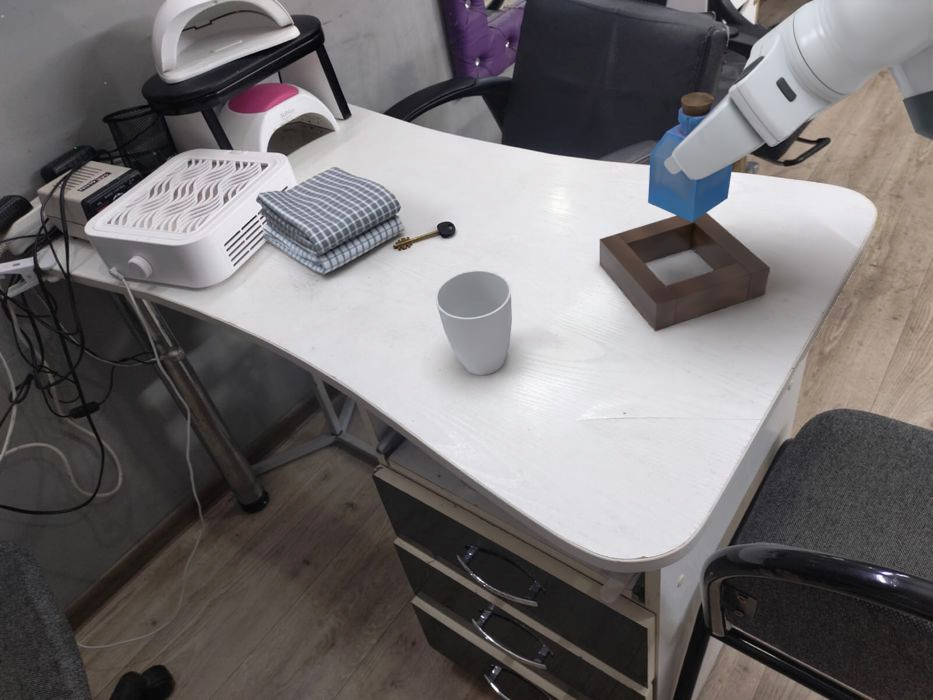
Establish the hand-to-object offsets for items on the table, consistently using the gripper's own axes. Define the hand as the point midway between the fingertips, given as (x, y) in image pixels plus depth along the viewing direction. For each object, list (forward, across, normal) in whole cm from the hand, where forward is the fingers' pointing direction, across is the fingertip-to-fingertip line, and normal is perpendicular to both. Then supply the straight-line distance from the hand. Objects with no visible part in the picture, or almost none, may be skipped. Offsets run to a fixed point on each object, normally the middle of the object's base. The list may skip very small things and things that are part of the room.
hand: (686, 148), depth 74 cm
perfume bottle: (+4, 0, +5) cm, 7 cm away
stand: (+12, 0, +13) cm, 18 cm away
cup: (+21, +24, +4) cm, 32 cm away
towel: (+46, +14, -22) cm, 53 cm away
